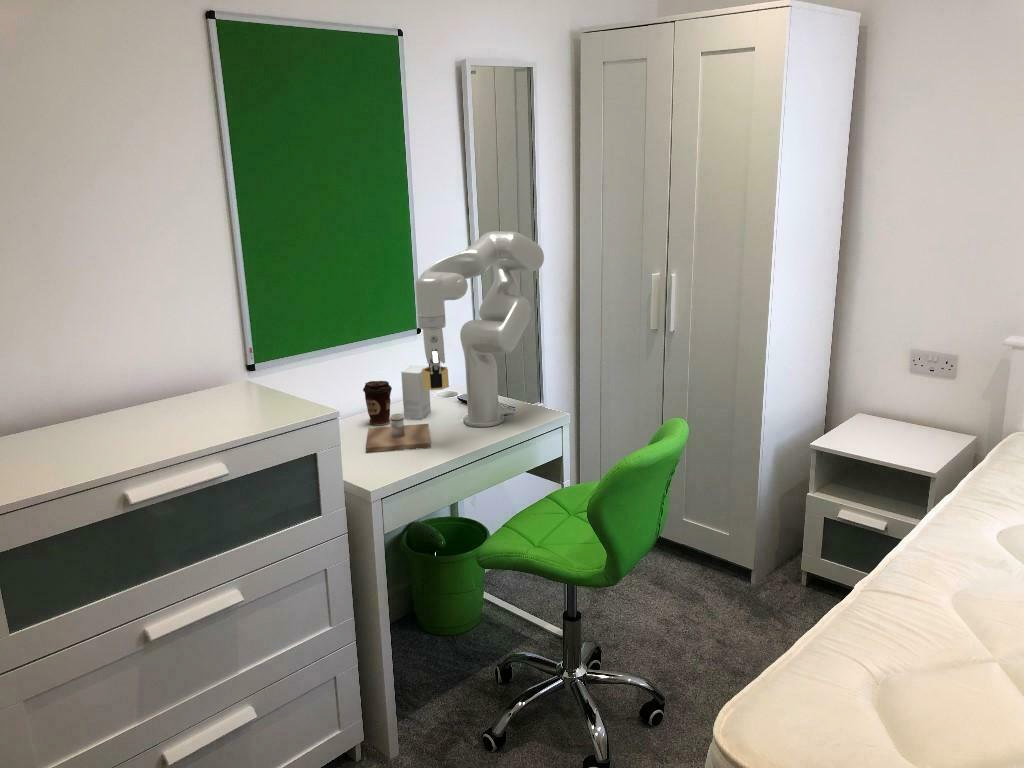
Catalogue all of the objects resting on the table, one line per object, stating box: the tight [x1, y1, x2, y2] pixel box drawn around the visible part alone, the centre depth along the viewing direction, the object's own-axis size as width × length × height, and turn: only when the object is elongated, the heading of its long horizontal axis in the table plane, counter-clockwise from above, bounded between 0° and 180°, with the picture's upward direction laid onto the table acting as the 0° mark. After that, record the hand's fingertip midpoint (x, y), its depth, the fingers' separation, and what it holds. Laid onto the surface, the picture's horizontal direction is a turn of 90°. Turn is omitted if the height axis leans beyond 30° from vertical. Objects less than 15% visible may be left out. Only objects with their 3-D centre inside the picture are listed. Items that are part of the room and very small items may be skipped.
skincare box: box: [400, 364, 432, 420], centre depth 263 cm, size 8×7×16 cm
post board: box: [365, 413, 431, 454], centre depth 241 cm, size 18×18×8 cm
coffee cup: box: [362, 380, 393, 426], centre depth 257 cm, size 9×8×13 cm
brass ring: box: [422, 365, 450, 391], centre depth 233 cm, size 7×7×5 cm
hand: (435, 383), depth 233 cm, fingers closed on brass ring, 7 cm apart
